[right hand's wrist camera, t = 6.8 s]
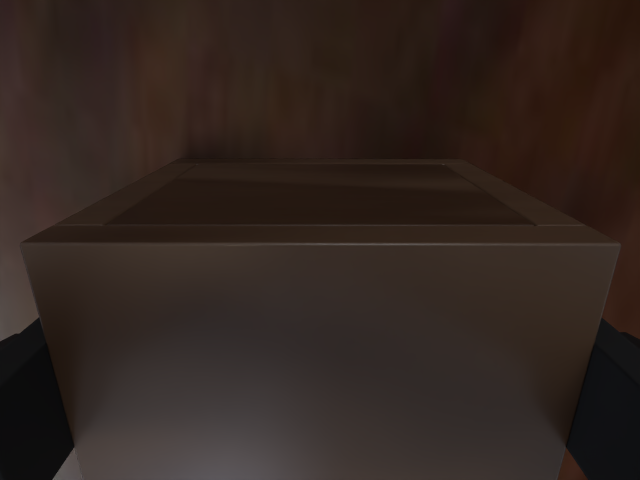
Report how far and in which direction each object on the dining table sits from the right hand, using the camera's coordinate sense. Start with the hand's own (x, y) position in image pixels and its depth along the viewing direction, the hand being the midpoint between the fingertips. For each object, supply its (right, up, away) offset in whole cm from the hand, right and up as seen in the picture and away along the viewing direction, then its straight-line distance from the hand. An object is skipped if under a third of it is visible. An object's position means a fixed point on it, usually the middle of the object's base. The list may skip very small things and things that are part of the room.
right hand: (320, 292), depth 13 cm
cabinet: (0, -5, +6) cm, 8 cm away
